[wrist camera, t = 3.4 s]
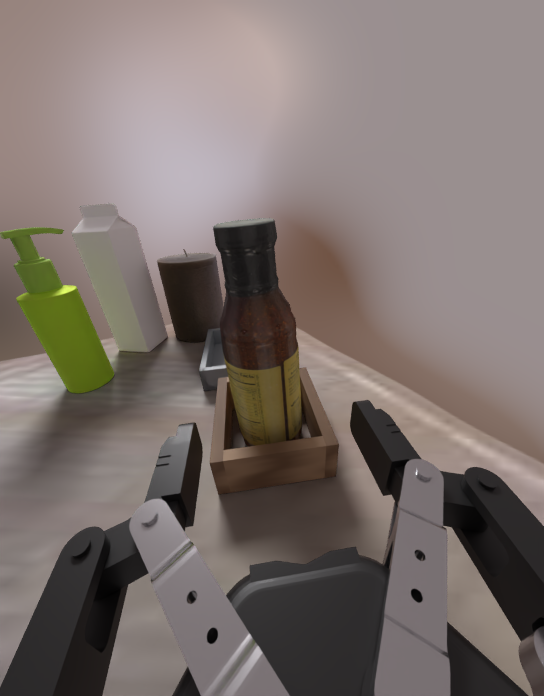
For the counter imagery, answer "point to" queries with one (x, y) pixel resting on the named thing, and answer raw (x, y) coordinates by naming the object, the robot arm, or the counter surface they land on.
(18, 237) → the soap dispenser
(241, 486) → the collar
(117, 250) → the milk
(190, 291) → the pillar candle
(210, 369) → the tray
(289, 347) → the sauce bottle
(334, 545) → the counter surface
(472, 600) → the counter surface
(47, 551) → the counter surface
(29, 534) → the counter surface
